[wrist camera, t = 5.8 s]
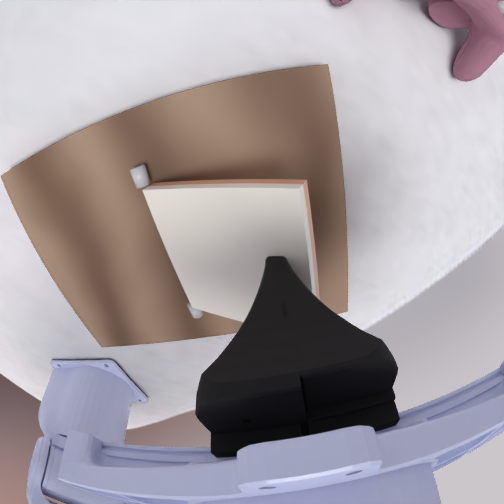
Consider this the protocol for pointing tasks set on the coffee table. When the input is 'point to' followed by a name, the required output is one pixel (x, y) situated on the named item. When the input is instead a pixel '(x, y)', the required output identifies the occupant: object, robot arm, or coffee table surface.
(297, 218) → the hinged panel
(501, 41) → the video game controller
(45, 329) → the coffee table surface
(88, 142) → the board
